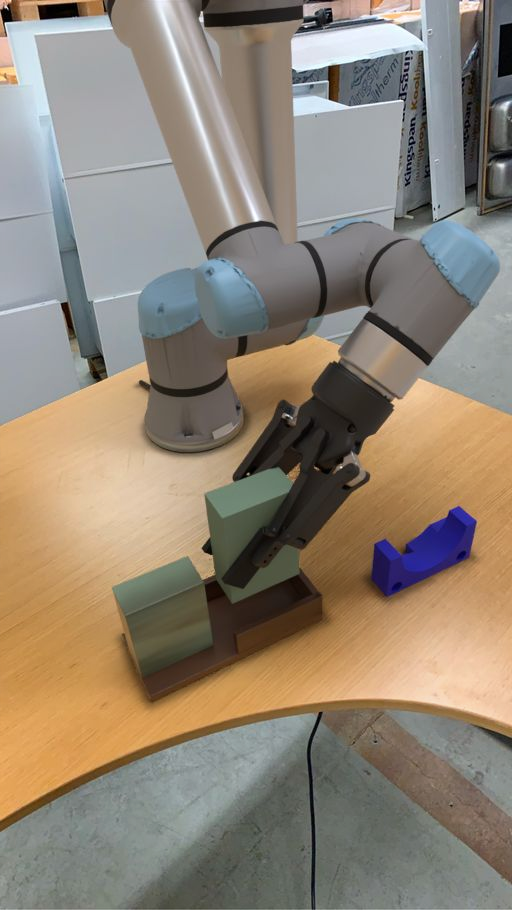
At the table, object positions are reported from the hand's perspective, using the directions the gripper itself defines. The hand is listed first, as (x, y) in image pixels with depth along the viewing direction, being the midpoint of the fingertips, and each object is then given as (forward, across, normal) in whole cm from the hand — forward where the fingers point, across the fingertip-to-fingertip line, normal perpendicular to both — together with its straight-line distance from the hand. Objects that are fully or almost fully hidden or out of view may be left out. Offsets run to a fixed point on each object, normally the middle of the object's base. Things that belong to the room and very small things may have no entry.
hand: (222, 568), depth 66 cm
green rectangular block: (0, 0, -5) cm, 5 cm away
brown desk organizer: (+7, 0, -6) cm, 10 cm away
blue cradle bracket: (-9, -3, -23) cm, 25 cm away
